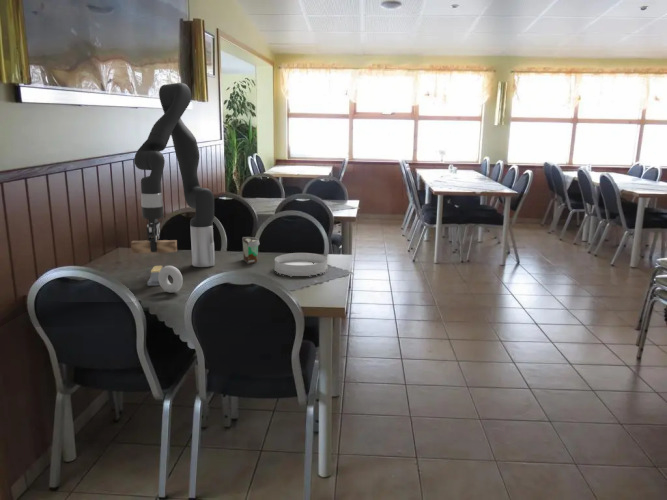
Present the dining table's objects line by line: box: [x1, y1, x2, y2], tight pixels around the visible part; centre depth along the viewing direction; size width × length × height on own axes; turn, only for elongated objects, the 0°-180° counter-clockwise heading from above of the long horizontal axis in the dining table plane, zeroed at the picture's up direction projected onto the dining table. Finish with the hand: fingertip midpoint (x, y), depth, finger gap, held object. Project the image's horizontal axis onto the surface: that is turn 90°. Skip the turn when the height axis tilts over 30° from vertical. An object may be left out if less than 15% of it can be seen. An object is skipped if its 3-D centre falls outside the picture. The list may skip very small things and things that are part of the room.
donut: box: [158, 265, 184, 294], centre depth 197 cm, size 10×4×10 cm, turn 67°
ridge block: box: [146, 265, 163, 286], centre depth 210 cm, size 6×8×6 cm
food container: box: [241, 236, 260, 265], centre depth 243 cm, size 12×6×10 cm, turn 22°
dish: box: [274, 252, 328, 275], centre depth 230 cm, size 22×22×5 cm
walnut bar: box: [130, 239, 178, 254], centre depth 208 cm, size 16×4×4 cm, turn 98°
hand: (154, 250), depth 208 cm, fingers closed on walnut bar, 3 cm apart
